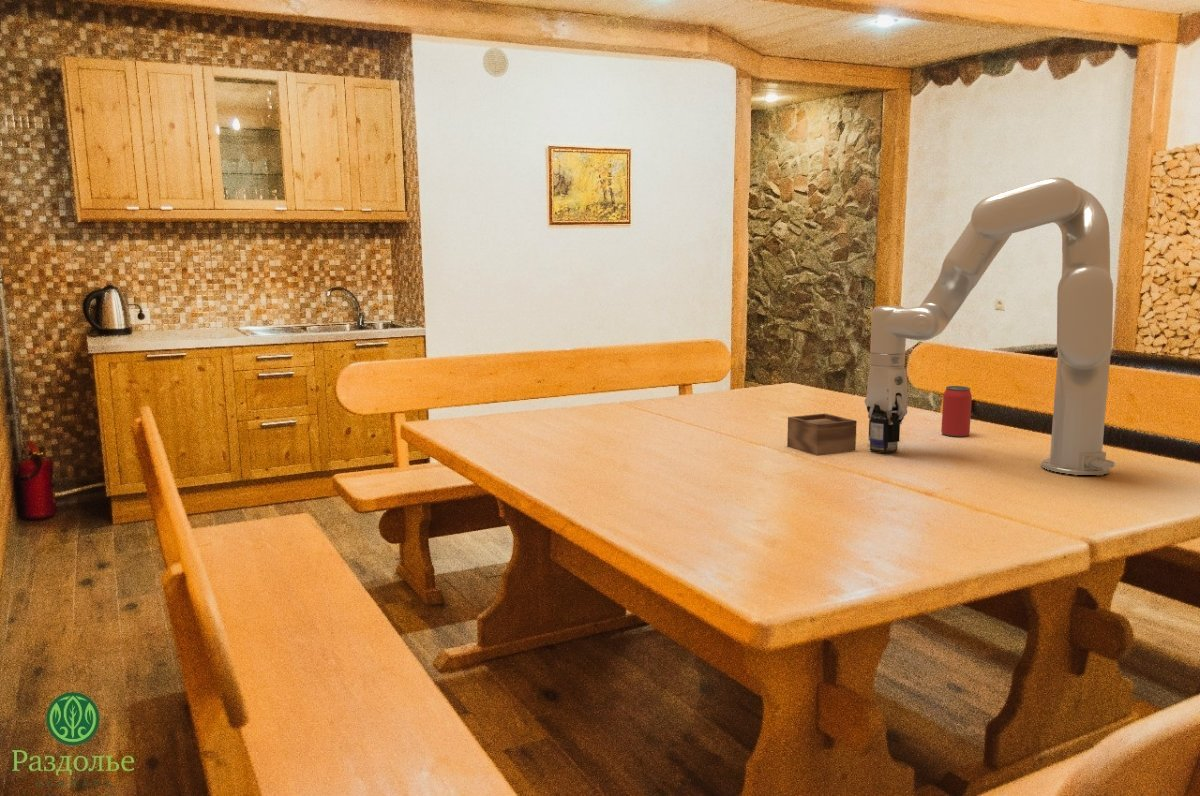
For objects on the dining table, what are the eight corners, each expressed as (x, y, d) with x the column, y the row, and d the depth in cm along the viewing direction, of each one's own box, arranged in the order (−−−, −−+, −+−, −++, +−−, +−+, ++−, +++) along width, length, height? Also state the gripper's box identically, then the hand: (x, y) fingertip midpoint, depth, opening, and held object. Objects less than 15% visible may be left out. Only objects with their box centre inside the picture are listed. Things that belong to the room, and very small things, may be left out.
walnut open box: (855, 450, 206) (856, 420, 205) (817, 455, 201) (818, 424, 200) (824, 441, 216) (825, 413, 215) (787, 446, 211) (788, 417, 210)
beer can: (973, 437, 220) (976, 389, 219) (946, 437, 221) (949, 389, 219) (963, 432, 227) (966, 385, 225) (937, 432, 227) (939, 385, 225)
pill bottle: (893, 448, 208) (896, 402, 206) (900, 454, 202) (902, 406, 200) (866, 448, 208) (868, 401, 207) (872, 454, 202) (874, 406, 201)
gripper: (924, 364, 195) (920, 445, 197) (880, 356, 211) (877, 431, 214) (894, 365, 193) (890, 447, 195) (852, 357, 209) (849, 432, 212)
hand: (883, 438), depth 205 cm, fingers closed on pill bottle, 6 cm apart
